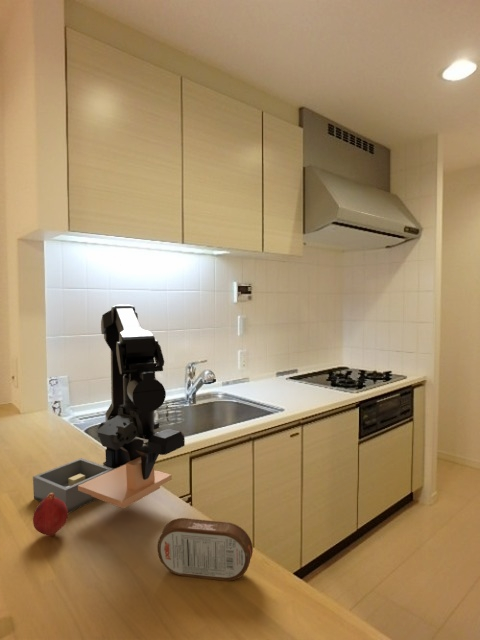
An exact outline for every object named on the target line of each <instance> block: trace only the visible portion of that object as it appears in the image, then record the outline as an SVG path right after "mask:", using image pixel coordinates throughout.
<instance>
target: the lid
mask: <svg viewBox="0 0 480 640" xmlns="http://www.w3.org/2000/svg"><path fill="white" fill-rule="evenodd" d="M113 469H114V470H112V471H109V472H107V473H105V474H103V475H100V476H98V477H96V478H94V479H91V480H89V481H87V482H85V483H82V484H80V485H78V491H81V492H83V493H86V494H89V495H91V496H92V497H94V498H97V499H96V500H100V501H103V502H105V503H107V504H111V505H113V506H116V507H118V508H121V509H125V508H127V507H129V506H131V505H132V504H134V503H136V502H138V501H139V500H142V499H143V498H145V497H147V496H148V495H150V494H152V493H154V492H156V491H158V490H159V489H161V486H163V485H164V484H166V483H168V482H171V480H173V479H172V474H171V473H170V474H169V473H167V472H162V471H159V470H156V469H155V466H154V467H153V469H152V471H151V473H150V476H149V478H148V479H146V480H144V479H143V475H142V465H141V457H139V458H137V459H134V460H132V461H130V462H128V463H126V464H125V465H123V466H121V467H118V468H116V469H115V468H113Z"/></svg>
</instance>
